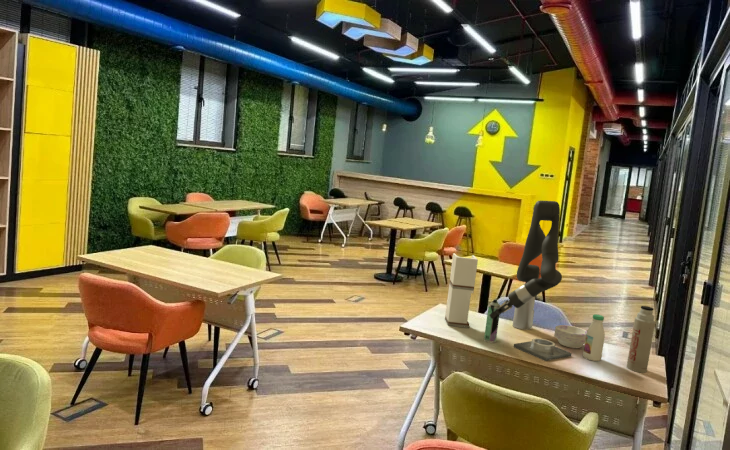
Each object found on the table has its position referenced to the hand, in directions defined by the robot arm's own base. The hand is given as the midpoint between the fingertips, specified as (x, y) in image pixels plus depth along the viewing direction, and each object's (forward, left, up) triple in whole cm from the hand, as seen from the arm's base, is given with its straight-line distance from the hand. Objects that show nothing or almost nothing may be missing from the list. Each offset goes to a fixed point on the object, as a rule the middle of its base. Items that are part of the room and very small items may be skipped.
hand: (492, 314), depth 257 cm
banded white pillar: (-3, -26, -13) cm, 29 cm away
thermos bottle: (-40, +49, -13) cm, 65 cm away
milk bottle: (-31, +33, -13) cm, 47 cm away
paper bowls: (-37, +17, -13) cm, 43 cm away
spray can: (0, 0, -13) cm, 13 cm away
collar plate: (-14, +19, -12) cm, 27 cm away
